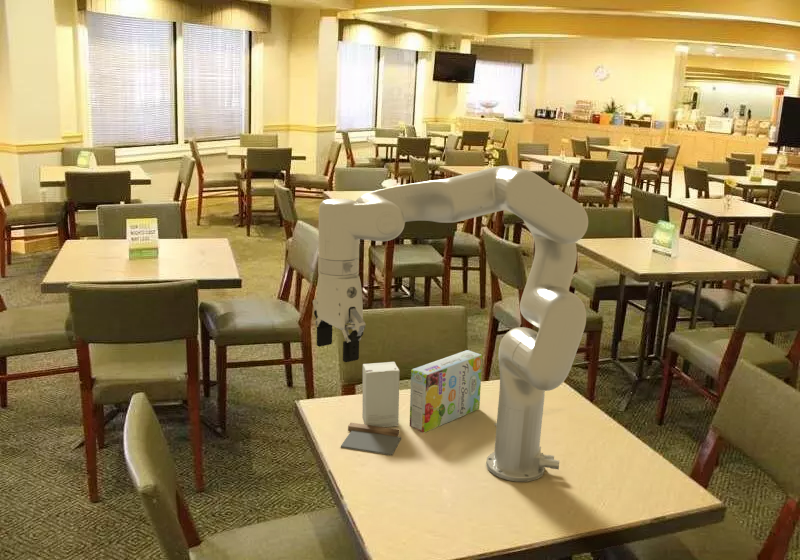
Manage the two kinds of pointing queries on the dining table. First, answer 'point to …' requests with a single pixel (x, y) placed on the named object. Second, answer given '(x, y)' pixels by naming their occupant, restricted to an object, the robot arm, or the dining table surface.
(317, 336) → the robot arm
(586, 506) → the dining table surface
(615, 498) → the dining table surface
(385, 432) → the rail
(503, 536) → the dining table surface
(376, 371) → the skincare box
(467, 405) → the snack box
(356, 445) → the mat
